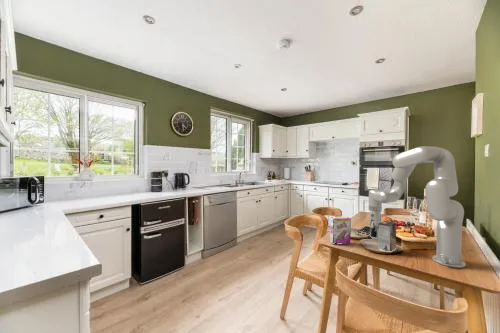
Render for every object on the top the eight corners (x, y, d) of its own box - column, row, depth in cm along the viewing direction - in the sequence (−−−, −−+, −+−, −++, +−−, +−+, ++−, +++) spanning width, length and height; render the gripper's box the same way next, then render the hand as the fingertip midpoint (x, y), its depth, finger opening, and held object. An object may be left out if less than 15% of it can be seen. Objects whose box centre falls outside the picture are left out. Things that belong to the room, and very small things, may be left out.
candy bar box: (333, 245, 138) (333, 218, 137) (329, 242, 143) (330, 216, 142) (351, 244, 138) (351, 218, 138) (347, 241, 143) (347, 216, 143)
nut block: (377, 240, 146) (377, 228, 146) (370, 238, 149) (370, 227, 149) (379, 238, 149) (379, 227, 149) (372, 236, 152) (372, 225, 152)
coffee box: (384, 247, 134) (384, 220, 133) (396, 250, 129) (396, 222, 128) (377, 251, 128) (378, 223, 127) (390, 254, 123) (390, 225, 123)
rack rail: (367, 237, 151) (367, 234, 151) (355, 234, 157) (355, 231, 157) (377, 230, 165) (377, 228, 165) (365, 228, 171) (365, 226, 171)
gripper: (377, 211, 140) (377, 240, 140) (385, 207, 152) (384, 234, 152) (364, 209, 145) (364, 237, 146) (373, 205, 157) (372, 231, 158)
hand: (374, 235), depth 149 cm, fingers closed on nut block, 4 cm apart
